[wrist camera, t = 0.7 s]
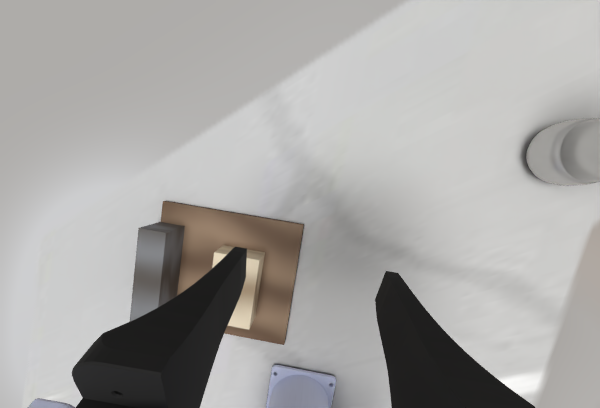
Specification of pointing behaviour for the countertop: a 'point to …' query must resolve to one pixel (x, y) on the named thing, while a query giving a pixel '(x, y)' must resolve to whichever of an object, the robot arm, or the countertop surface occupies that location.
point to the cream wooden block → (245, 287)
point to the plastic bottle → (567, 153)
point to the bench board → (199, 260)
